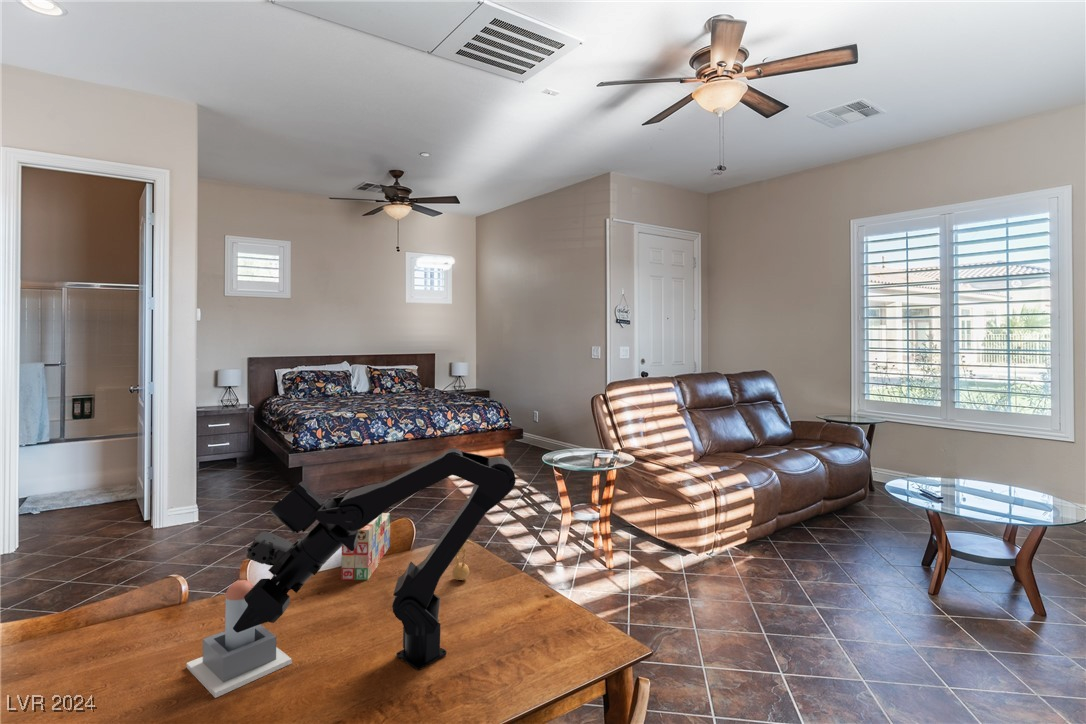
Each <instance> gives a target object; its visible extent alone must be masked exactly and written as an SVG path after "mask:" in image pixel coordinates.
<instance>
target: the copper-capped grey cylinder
mask: <svg viewBox="0 0 1086 724" xmlns="http://www.w3.org/2000/svg"><path fill="white" fill-rule="evenodd" d="M254 585H255V584H253V583H252V582H251V581H249V580H247V579H241V580H237V581H235V582H233V583H232V584H230V586H229V587H228V588H227V590H226V593H225V612H224V613H225V616H224V617H225V619H224V621H225V622H224V624H225V627H224V628H225V629H224V631H225V650H227V651H228V652H230V651H232V650H235V649H237V648H240V647H242V646H245V645H247V644H250V643H252V642H255V626H254V627H252V628H249V629H246V630H244V631H241V632H238V633H237V632H235V631H234V630H233V627H234V625H235V624H236V623H237V621H238V620H239V618H240V617H241V615H242V614H243V612H244V611H245V609H246V608H247V606H248V604H247V603H246V601H245V599H244V596H245V595H246V594H247V593H248V592H249V591H250V589H251V588H252V587H253V586H254Z"/></svg>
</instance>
